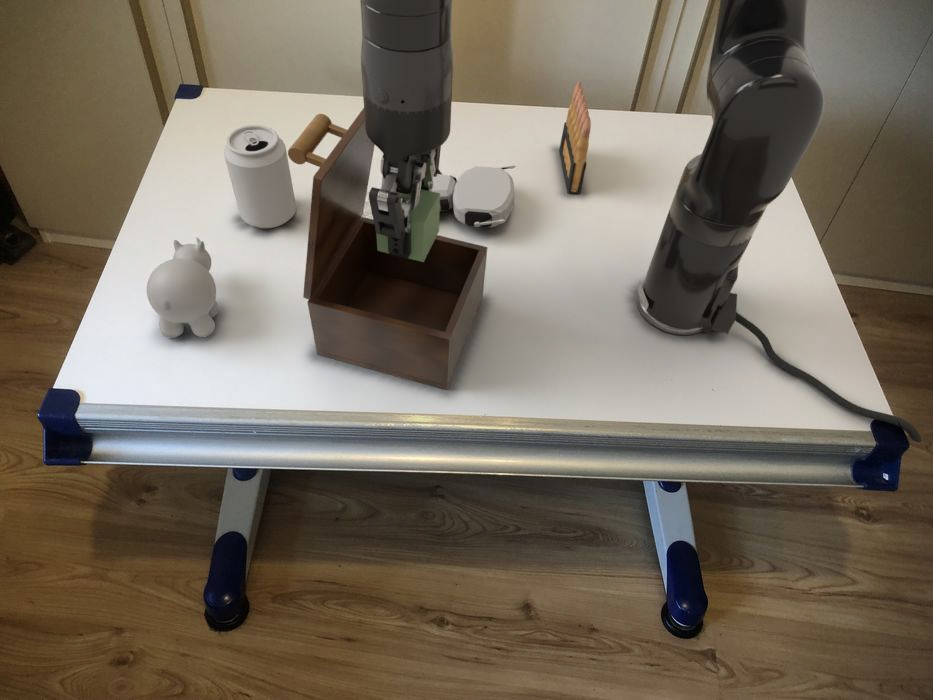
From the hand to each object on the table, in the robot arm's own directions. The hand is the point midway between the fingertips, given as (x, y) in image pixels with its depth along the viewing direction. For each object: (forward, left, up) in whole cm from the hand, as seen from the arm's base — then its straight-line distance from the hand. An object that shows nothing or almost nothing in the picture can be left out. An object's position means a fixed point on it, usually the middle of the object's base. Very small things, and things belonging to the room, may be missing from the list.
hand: (409, 236), depth 71 cm
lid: (+7, 0, +3) cm, 7 cm away
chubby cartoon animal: (+25, +5, -14) cm, 29 cm away
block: (0, 0, -1) cm, 1 cm away
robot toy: (+1, -23, -14) cm, 27 cm away
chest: (+1, 0, -14) cm, 14 cm away
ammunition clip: (-12, -37, -14) cm, 42 cm away
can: (+25, -13, -14) cm, 32 cm away
